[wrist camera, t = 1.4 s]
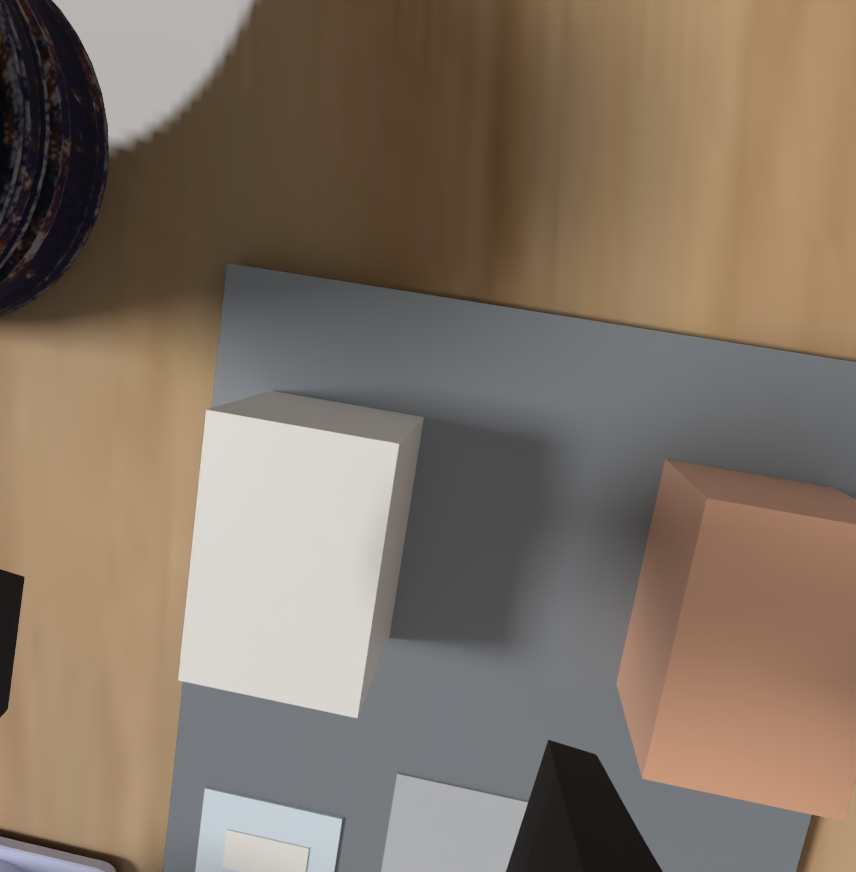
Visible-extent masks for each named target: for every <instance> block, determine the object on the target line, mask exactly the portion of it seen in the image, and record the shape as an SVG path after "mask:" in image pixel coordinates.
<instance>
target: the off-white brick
mask: <svg viewBox="0 0 856 872" xmlns="http://www.w3.org/2000/svg"><path fill="white" fill-rule="evenodd" d="M423 420H424V417H421V416H415V415H409V414H403V413H398V412H392V411H386V410H380V409H374V408H369V407H363V406H357V405H351V404H346V403H340V402H334V401H328V400H322V399H317V398H311V397H305V396H299V395H294V394H288V393H282V392H276V391H267V392H264V393H261V394H257V395H254V396H251V397H247V398H244V399H241V400H237V401H234V402H231V403H227V404H224V405H220V406H217V407H214V408H210V409H207V410H206V418H205V427H204V437H203V447H202V456H201V466H200V475H199V485H198V495H197V504H196V514H195V523H194V533H193V542H192V552H191V562H190V571H189V581H188V590H187V600H186V610H185V619H184V629H183V638H182V648H181V657H180V667H179V677H178V680H179V681H183V682H188V683H193V684H198V685H202V686H207V687H212V688H216V689H221V690H226V691H231V692H235V693H240V694H245V695H250V696H254V697H259V698H264V699H268V700H273V701H278V702H283V703H287V704H292V705H297V706H301V707H306V708H311V709H316V710H320V711H325V712H330V713H334V714H339V715H344V716H349V717H353V718H358V716H359V713H360V711H361V708H362V706H363V703H364V700H365V698H366V695H367V693H368V690H369V688H370V685H371V683H372V680H373V678H374V675H375V673H376V670H377V668H378V665H379V663H380V660H381V658H382V655H383V652H384V650H385V647H386V645H387V642H388V640H389V636H390V630H391V623H392V617H393V611H394V604H395V598H396V592H397V585H398V579H399V573H400V566H401V560H402V553H403V547H404V541H405V534H406V528H407V522H408V515H409V509H410V503H411V496H412V490H413V483H414V477H415V471H416V464H417V458H418V452H419V445H420V439H421V433H422V426H423Z"/></svg>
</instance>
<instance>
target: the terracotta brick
mask: <svg viewBox="0 0 856 872" xmlns="http://www.w3.org/2000/svg"><path fill="white" fill-rule="evenodd" d="M616 685H617V688H618V692H619V695H620V699H621V703H622V706H623V710H624V714H625V717H626V721H627V725H628V728H629V732H630V736H631V739H632V743H633V747H634V750H635V754H636V758H637V761H638V765H639V769H640V772H641V776H642V779H646V780H650V781H655V782H660V783H665V784H669V785H674V786H679V787H683V788H688V789H693V790H698V791H702V792H707V793H712V794H717V795H721V796H726V797H731V798H735V799H740V800H745V801H750V802H754V803H759V804H764V805H768V806H773V807H778V808H783V809H787V810H792V811H797V812H801V813H806V814H811V815H816V816H820V817H825V818H830V819H834V820H839V821H844V819H845V815H846V812H847V808H848V805H849V801H850V798H851V794H852V791H853V787H854V784H855V780H856V499H854V498H852V497H850V496H848V495H846V494H844V493H843V492H841V491H839V490H837V489H835V488H831V487H825V486H819V485H814V484H808V483H802V482H796V481H791V480H785V479H779V478H773V477H767V476H762V475H756V474H750V473H744V472H739V471H733V470H727V469H721V468H715V467H710V466H704V465H698V464H692V463H687V462H681V461H675V460H669V459H665V462H664V467H663V472H662V476H661V481H660V485H659V490H658V494H657V499H656V504H655V508H654V513H653V517H652V522H651V527H650V531H649V536H648V540H647V545H646V550H645V554H644V559H643V563H642V568H641V573H640V577H639V582H638V586H637V591H636V595H635V600H634V605H633V609H632V614H631V618H630V623H629V628H628V632H627V637H626V641H625V646H624V651H623V655H622V660H621V664H620V669H619V674H618V678H617V683H616Z"/></svg>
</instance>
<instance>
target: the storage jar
mask: <svg viewBox="0 0 856 872" xmlns="http://www.w3.org/2000/svg"><path fill="white" fill-rule="evenodd" d="M108 158H109V148H108V124H107V119H106V113H105V108H104V103H103V97H102V93H101V89H100V87H99V83H98V80H97V77H96V74H95V71H94V68H93V65H92V63H91V60H90V58H89V57H88V54H87V53H86V51H85V48H84V46H83V44H82V43H81V40H80V38H79V37H78V35H77V33H76V32H75V30H74V29H73V27H72V26H71V24H70V23H69V21H68V20H67V19H66V17H65V16H64V14H63V13H62V12H61V10H60V9H59V8H58V7H57V6H56V4H55V3H54V2H53V1H52V0H0V316H1V315H4V314H7V313H10V312H13V311H14V310H16V309H18V308H20V307H22V306H24V305H25V304H27V303H29V302H31V301H33V300H35V299H36V298H37V297H38V296H40V295H41V294H42V293H43V292H45V291H46V290H47V289H48V288H50V287H51V286H52V285H53V284H55V283H56V282H57V280H58V279H59V278H60V277H61V276H62V275H63V274H64V272H65V271H66V270H67V269H68V268H69V267H70V266H71V265H72V263H73V262H74V260H75V259H76V257H77V256H78V254H79V252H80V251H81V249H82V248H83V246H84V244H85V243H86V241H87V240H88V237H89V235H90V232H91V230H92V228H93V225H94V223H95V221H96V218H97V216H98V214H99V210H100V206H101V202H102V198H103V194H104V190H105V186H106V178H107V168H108Z"/></svg>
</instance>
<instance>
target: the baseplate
mask: <svg viewBox="0 0 856 872" xmlns="http://www.w3.org/2000/svg"><path fill="white" fill-rule="evenodd" d="M267 391H276V392H282V393H288V394H294V395H299V396H305V397H311V398H317V399H322V400H328V401H334V402H340V403H346V404H351V405H357V406H363V407H369V408H374V409H380V410H386V411H392V412H398V413H403V414H409V415H415V416H421V417H424V420H423V426H422V433H421V439H420V445H419V452H418V458H417V464H416V471H415V477H414V483H413V490H412V496H411V503H410V509H409V515H408V522H407V528H406V534H405V541H404V547H403V553H402V560H401V566H400V573H399V579H398V585H397V592H396V598H395V604H394V611H393V617H392V623H391V630H390V636H389V640H388V642H387V645H386V647H385V650H384V652H383V655H382V658H381V660H380V663H379V665H378V668H377V670H376V673H375V675H374V678H373V680H372V683H371V685H370V688H369V690H368V693H367V695H366V698H365V700H364V703H363V706H362V708H361V711H360V713H359V716H358V718H353V717H349V716H344V715H339V714H334V713H330V712H325V711H320V710H316V709H311V708H306V707H301V706H297V705H292V704H287V703H283V702H278V701H273V700H268V699H264V698H259V697H254V696H250V695H245V694H240V693H235V692H231V691H226V690H221V689H216V688H212V687H207V686H202V685H198V684H193V683H188V682H183V686H182V695H181V705H180V714H179V724H178V733H177V742H176V752H175V761H174V771H173V780H172V790H171V799H170V809H169V818H168V828H167V837H166V847H165V856H164V866H163V872H506V870H507V867H508V864H509V860H510V857H511V854H512V851H513V848H514V845H515V842H516V839H517V836H518V832H519V829H520V826H521V823H522V820H523V817H524V814H525V811H526V808H527V804H528V801H529V798H530V795H531V792H532V789H533V786H534V783H535V779H536V776H537V773H538V770H539V767H540V764H541V761H542V758H543V755H544V751H545V748H546V745H547V742H548V740H551V741H555V742H558V743H561V744H564V745H567V746H571V747H574V748H577V749H580V750H584V751H587V752H590V753H593V754H596V755H597V756H598V758H599V760H600V762H601V763H602V765H603V767H604V769H605V771H606V772H607V774H608V776H609V778H610V780H611V781H612V783H613V785H614V787H615V789H616V791H617V792H618V794H619V796H620V798H621V800H622V801H623V803H624V805H625V807H626V809H627V811H628V812H629V814H630V816H631V818H632V819H633V821H634V823H635V825H636V827H637V828H638V830H639V832H640V834H641V835H642V837H643V839H644V841H645V842H646V844H647V846H648V848H649V849H650V851H651V853H652V854H653V856H654V858H655V859H656V861H657V863H658V864H659V866H660V868H661V869H662V871H663V872H796V870H797V866H798V863H799V859H800V856H801V852H802V848H803V845H804V841H805V838H806V834H807V830H808V827H809V823H810V820H811V816H812V815H811V814H806V813H801V812H797V811H792V810H787V809H783V808H778V807H773V806H768V805H764V804H759V803H754V802H750V801H745V800H740V799H735V798H731V797H726V796H721V795H717V794H712V793H707V792H702V791H698V790H693V789H688V788H683V787H679V786H674V785H669V784H665V783H660V782H655V781H650V780H646V779H642V776H641V772H640V769H639V765H638V761H637V758H636V754H635V750H634V747H633V743H632V739H631V736H630V732H629V728H628V725H627V721H626V717H625V714H624V710H623V706H622V703H621V699H620V695H619V692H618V688H617V685H616V683H617V678H618V674H619V669H620V664H621V660H622V655H623V651H624V646H625V641H626V637H627V632H628V628H629V623H630V618H631V614H632V609H633V605H634V600H635V595H636V591H637V586H638V582H639V577H640V573H641V568H642V563H643V559H644V554H645V550H646V545H647V540H648V536H649V531H650V527H651V522H652V517H653V513H654V508H655V504H656V499H657V494H658V490H659V485H660V481H661V476H662V472H663V467H664V462H665V459H669V460H675V461H681V462H687V463H692V464H698V465H704V466H710V467H715V468H721V469H727V470H733V471H739V472H744V473H750V474H756V475H762V476H767V477H773V478H779V479H785V480H791V481H796V482H802V483H808V484H814V485H819V486H825V487H831V488H835V489H837V490H839V491H841V492H843V493H844V494H846V495H848V496H850V497H852V498H854V499H856V362H852V361H846V360H839V359H833V358H827V357H820V356H814V355H808V354H801V353H795V352H789V351H782V350H776V349H770V348H763V347H757V346H751V345H744V344H738V343H732V342H725V341H719V340H713V339H706V338H700V337H694V336H687V335H681V334H675V333H668V332H662V331H656V330H649V329H643V328H637V327H630V326H624V325H618V324H611V323H605V322H599V321H592V320H586V319H579V318H573V317H567V316H560V315H554V314H548V313H541V312H535V311H529V310H522V309H516V308H510V307H503V306H497V305H491V304H484V303H478V302H472V301H465V300H459V299H453V298H446V297H440V296H434V295H427V294H421V293H415V292H408V291H402V290H396V289H389V288H383V287H377V286H370V285H364V284H358V283H351V282H345V281H339V280H332V279H326V278H320V277H313V276H307V275H301V274H294V273H288V272H282V271H275V270H269V269H263V268H256V267H250V266H244V265H237V264H231V263H227V269H226V278H225V288H224V297H223V307H222V316H221V326H220V335H219V345H218V354H217V364H216V373H215V383H214V392H213V402H212V408H214V407H217V406H220V405H224V404H227V403H231V402H234V401H237V400H241V399H244V398H247V397H251V396H254V395H257V394H261V393H264V392H267Z"/></svg>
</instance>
